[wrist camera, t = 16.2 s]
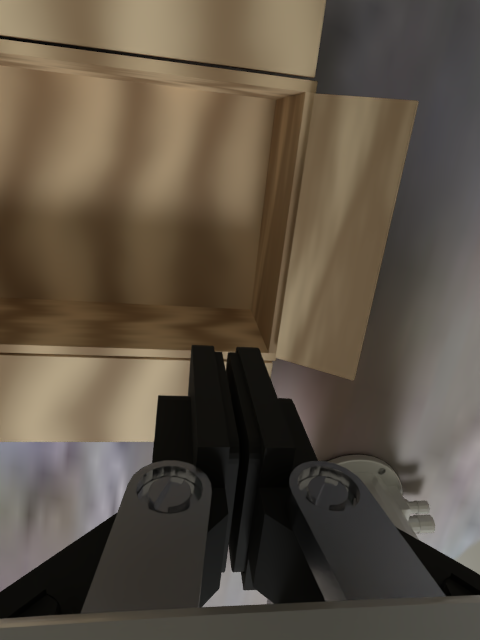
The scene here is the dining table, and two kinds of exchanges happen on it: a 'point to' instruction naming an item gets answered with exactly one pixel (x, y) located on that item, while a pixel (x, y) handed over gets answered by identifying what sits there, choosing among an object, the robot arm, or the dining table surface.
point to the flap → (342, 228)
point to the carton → (143, 200)
